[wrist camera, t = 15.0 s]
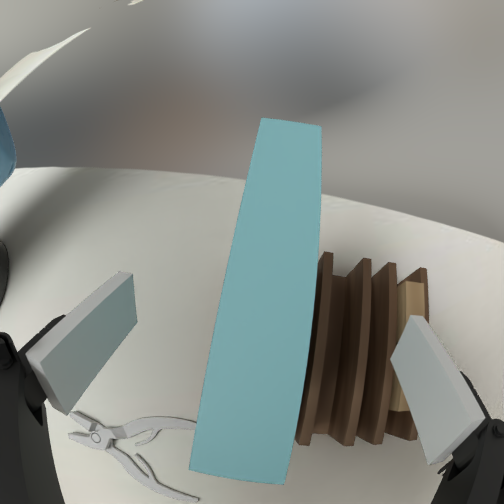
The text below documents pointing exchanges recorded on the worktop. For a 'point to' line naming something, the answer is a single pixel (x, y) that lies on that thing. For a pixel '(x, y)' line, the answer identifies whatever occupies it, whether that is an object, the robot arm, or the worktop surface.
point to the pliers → (104, 441)
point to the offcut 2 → (409, 304)
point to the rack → (354, 356)
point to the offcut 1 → (397, 396)
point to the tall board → (264, 312)
